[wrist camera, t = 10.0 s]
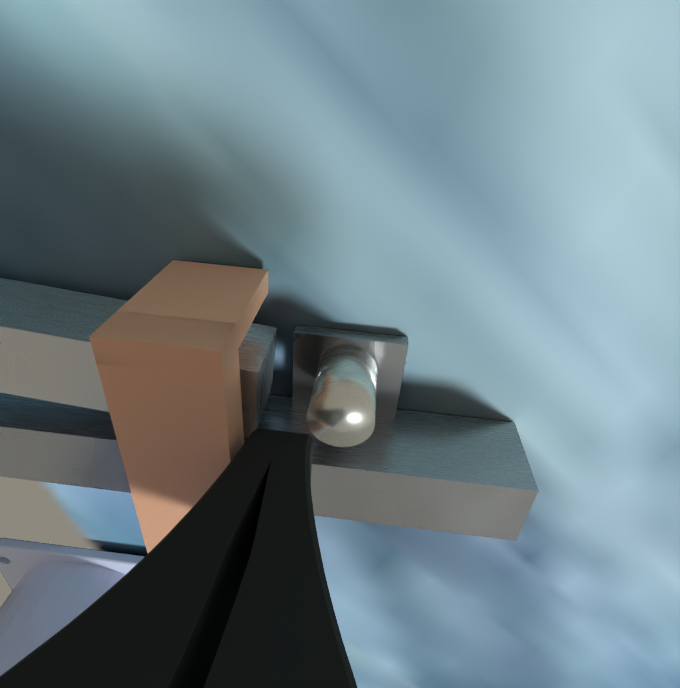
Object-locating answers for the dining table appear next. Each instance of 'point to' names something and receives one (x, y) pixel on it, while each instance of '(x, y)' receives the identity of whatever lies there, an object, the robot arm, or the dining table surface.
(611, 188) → the dining table surface
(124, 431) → the sleeve
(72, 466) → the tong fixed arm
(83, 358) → the tong jaw
